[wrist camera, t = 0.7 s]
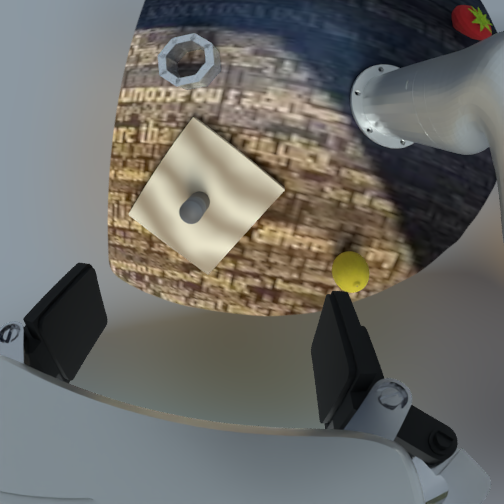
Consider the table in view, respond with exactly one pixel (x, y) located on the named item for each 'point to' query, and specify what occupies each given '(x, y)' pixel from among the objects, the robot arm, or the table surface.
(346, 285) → the lemon
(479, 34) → the strawberry
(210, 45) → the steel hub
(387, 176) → the table surface
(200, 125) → the post board
